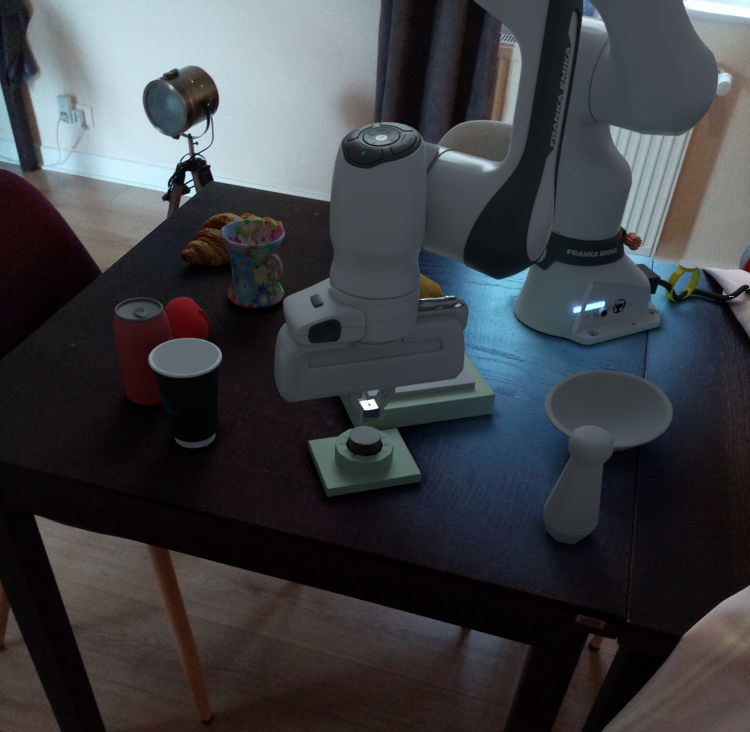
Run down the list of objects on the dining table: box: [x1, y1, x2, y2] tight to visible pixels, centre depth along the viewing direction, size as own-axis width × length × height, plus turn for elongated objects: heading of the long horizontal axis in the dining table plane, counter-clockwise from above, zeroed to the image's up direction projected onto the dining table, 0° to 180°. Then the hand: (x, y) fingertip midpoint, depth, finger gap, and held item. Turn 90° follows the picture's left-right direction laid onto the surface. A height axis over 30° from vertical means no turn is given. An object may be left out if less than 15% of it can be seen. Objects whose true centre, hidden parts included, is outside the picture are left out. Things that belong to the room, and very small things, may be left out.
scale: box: [338, 353, 496, 430], centre depth 102 cm, size 18×16×4 cm
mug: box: [220, 219, 286, 310], centre depth 115 cm, size 12×9×11 cm
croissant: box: [180, 212, 284, 267], centre depth 130 cm, size 21×10×8 cm, turn 139°
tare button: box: [349, 426, 381, 456], centre depth 89 cm, size 4×4×2 cm
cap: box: [163, 296, 211, 341], centre depth 107 cm, size 8×6×6 cm
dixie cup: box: [148, 338, 223, 449], centre depth 90 cm, size 8×8×11 cm
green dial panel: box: [307, 427, 422, 498], centre depth 90 cm, size 11×9×3 cm
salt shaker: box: [542, 425, 614, 545], centre depth 80 cm, size 6×6×13 cm
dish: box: [544, 369, 674, 452], centre depth 95 cm, size 18×14×5 cm
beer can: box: [112, 297, 172, 407], centre depth 95 cm, size 7×7×12 cm
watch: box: [664, 260, 701, 303], centre depth 125 cm, size 6×3×6 cm, turn 120°
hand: (368, 417), depth 87 cm, fingers closed
